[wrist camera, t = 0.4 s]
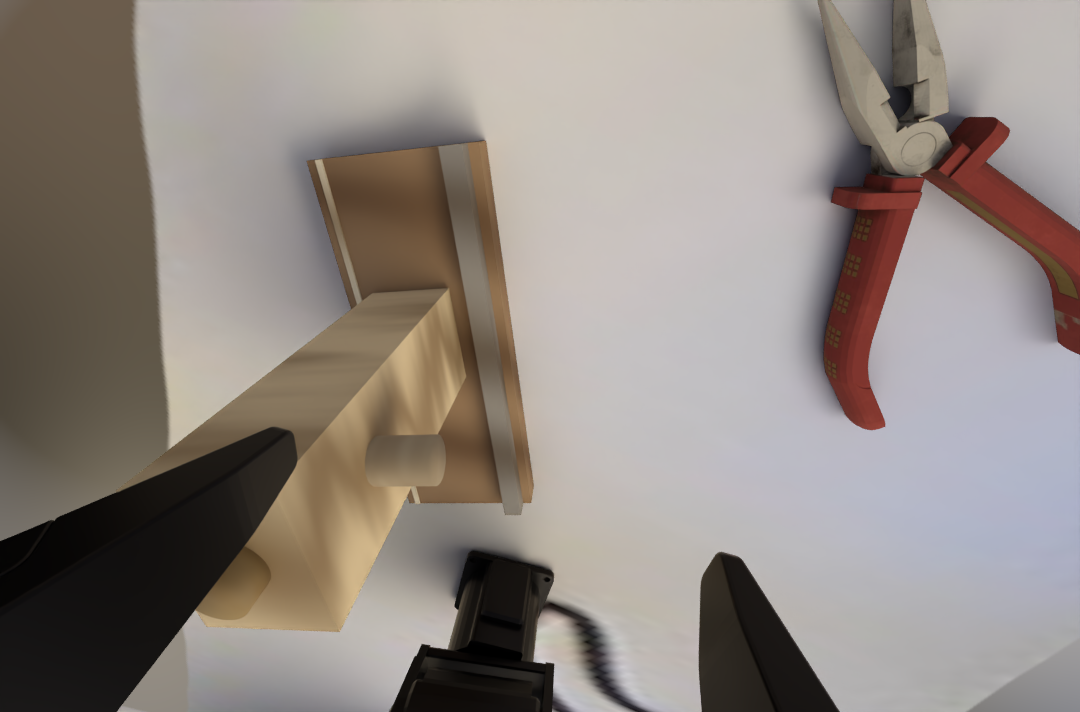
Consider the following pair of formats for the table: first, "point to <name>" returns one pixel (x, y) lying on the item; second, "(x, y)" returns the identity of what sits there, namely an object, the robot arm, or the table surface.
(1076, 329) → the pliers
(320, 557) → the beige boxy piece
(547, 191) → the table surface
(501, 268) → the board
